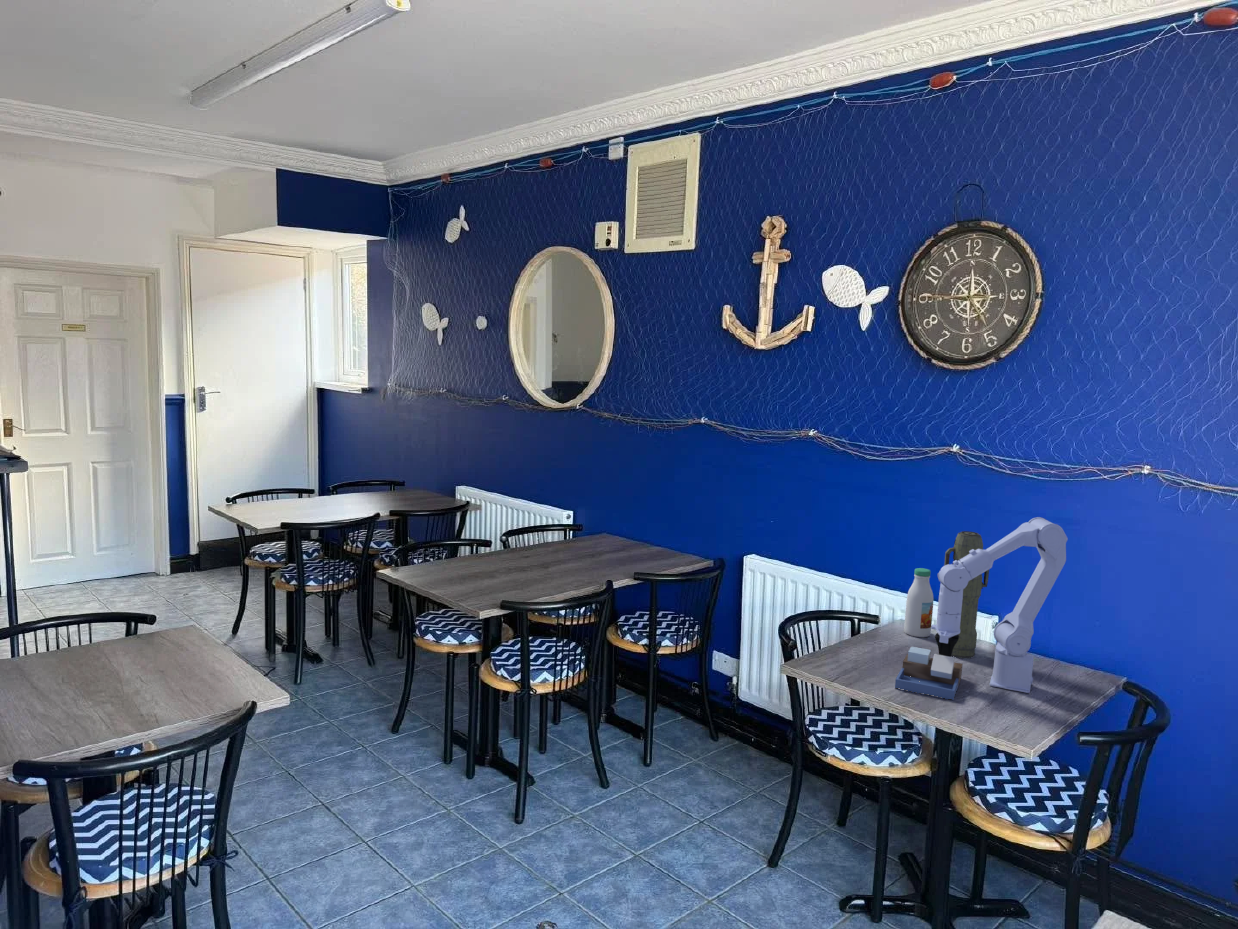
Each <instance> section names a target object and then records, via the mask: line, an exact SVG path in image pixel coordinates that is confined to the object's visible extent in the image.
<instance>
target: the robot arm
mask: <svg viewBox="0 0 1238 929" xmlns="http://www.w3.org/2000/svg"><path fill="white" fill-rule="evenodd" d="M1068 540H1069V539H1068V536H1067V534H1066V533H1065V531H1064V529H1063V527H1062V526H1060V525H1059V524H1058V523H1053V522H1051V521H1049V520H1047V519H1046V518H1043V517H1040V516H1037V517H1033V518H1031V519H1030V520H1029V521H1028V522H1027V521H1026V522H1023V523H1021V524H1020V525H1019V526H1018V527H1017V528H1016V529H1014V530H1013V531H1011V532H1010V533H1009V534H1007V535H1005V536H1004V537H1003V538H1001V539H1000V540H998V541H997V542H995V543H994V544H991V546H989V547H987V548H986V549H983V550H982V549H977V550H974V549H972V550H970V551H969V553H970V554H968V555H967V556H965V557H963V558H962V559H960V560H958V561H957V560H955V561H954V560H953V561H952V563H949V564H948V565H945V566H944V565H943V566H942V567H941V568H940V570H939V572H938V573H937V578H938V582H940V584H939V586H940V587H939V592H938V593H939V595H938V601H937V602H938V603H937V614H936V615H937V616H936V624H931V630H935V631H936V633H935V635H934V640H935V642H936V645H937V648H938V655H943V656H949V657H951V655H952V652H953V648H954V646H955V644H956V643H957V641H958V639H959V635H957V634H959V633H960V621H961V610H962V600H963V589H964V588H965V587H966V586H967V584H968V581H970V580H972V579H973V578H975V577H977V576H978V575H980V574H983V573H984V572H985V571H987V570H989V571H990V569H992V568H993V565H994V561H996V560H998V559H1000V558H1002V557H1004V556H1006V555H1008V554H1010V553H1011V552H1013V551H1015V550H1017V549H1019V548H1021V547H1023V546H1024V547H1032V548H1033V547H1034V548H1036V549H1037V551H1038V553H1039V556H1040V560H1039V562H1038V563H1037V565H1036V567H1035V569H1034V571H1033V573H1032V574H1031V577H1030V579H1029V580H1028V582H1027V584H1026V586H1025V588H1024V590H1023V591H1022V593H1021V595H1020V597H1019V599H1018V601H1017V603H1016V604H1015V605H1014V608H1013V610H1012V611H1011V612H1010V613H1008V614H1006V615H1005V616H1004V617H1003V619H1002V620H1001V621H1000V622H999V623H997V624H996V626H995V627H994V630H993V638H994V639H995V641H996V642H997V643H996V646H995V649H994V660H993V669H992V675H990V676H991V677H990V681H989V686H990V687H994V688H999V689H1000V688H1001V689H1005V690H1009V691H1010V690H1011V691H1015V692H1020V693H1021V692H1022V693H1027V694H1030V692H1031V686H1032V685H1033V683H1034V682H1033V681H1034V676H1033V669H1034V658H1035V657H1034V656H1035V655H1033V654H1029V653H1027V652H1029V650H1030V648H1031V646H1032V645H1031V644H1032V641H1031V640H1032V637H1033V635H1034V632H1035V631H1034V621H1035V619H1036V617H1037V616H1038V613H1039V612H1040V610H1041V608H1042V606H1043V605H1044V603H1045V601H1046V599H1047V597H1048V595H1049V594H1050V592H1051V590H1052V588H1053V587H1054V585H1055V583H1056V581H1057V579H1058V577H1059V576H1060V574H1061V571H1062V570H1063V568H1064V566H1065V564H1066V562H1067V542H1068ZM953 563H954V565H953Z"/></svg>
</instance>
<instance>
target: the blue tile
mask: <svg viewBox="0 0 1238 929" xmlns="http://www.w3.org/2000/svg"><path fill="white" fill-rule="evenodd" d="M931 652H932V650H931V649H927V648H923V647H916V646H910V648H909V650H908V651H907V654H908V661H910V662H916V663H921V664H926V665H928V662H929V660H930V658H931Z"/></svg>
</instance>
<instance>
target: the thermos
mask: <svg viewBox="0 0 1238 929" xmlns="http://www.w3.org/2000/svg"><path fill="white" fill-rule="evenodd" d="M972 549H974V550H977V549H982V550H984V542H983V538H982V535H981V534H979V533H978V532H976V531H968V530H963V531H960V532H958V533H957V534H956V536H955V540H954V545H953V547H949V548H948V549H947V550H946V551H945V554H944V563H943V566H945V565H948V564H949V565H950V558H951V557H950V555H951V553H952V552H953V554H952V555H953V556H952V559H953V561H955V560H957V561H958V560H960V559H962V558H963V557H965V556H967V555H968V554H970V553H969V551H970V550H972ZM952 564H953V565H954V563H953V562H952ZM982 574H983V573H982ZM982 574H980V575H978V576H977V577H975V578H973V579H972V580H970V581H968V584H967V586H966V587H965V588H964V589H963V600H962V610H961V621H960V633H959V634H957V635H959V639H958V641H957V643H956V644H955V646H954V648H953V652H952V655H951V656H954V658H955V657H958V658H957V659H964V658H967V659H972V658H971V657H973V658H974V657H975V655H976V654H975V650H976V648H977V641H978V640H977V639H978V632H977V629H976V628H977V621H978V620H977V619H978V610H979V599H980V597H981V595H982V589H983V588H987V587H988V583H989V578H990V577H989V576H990V569H989V570H987V571H985V572H984V574H983V575H982Z"/></svg>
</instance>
